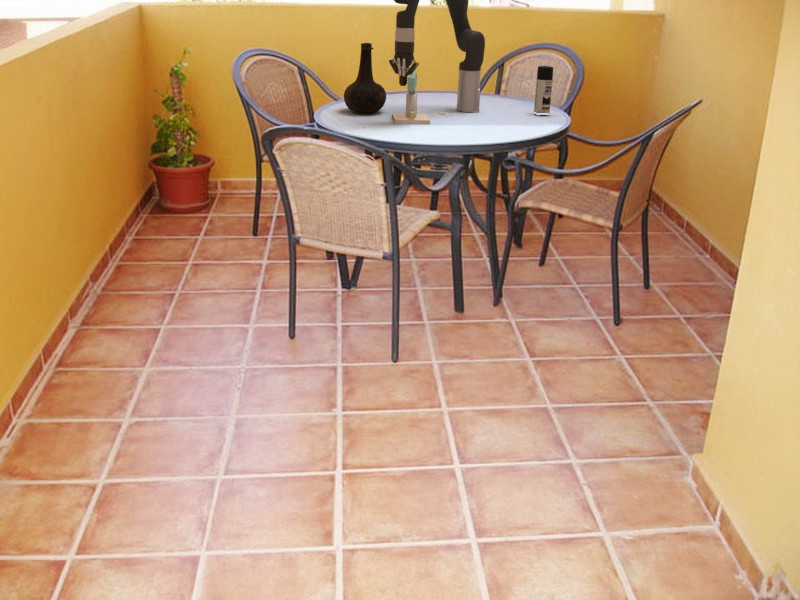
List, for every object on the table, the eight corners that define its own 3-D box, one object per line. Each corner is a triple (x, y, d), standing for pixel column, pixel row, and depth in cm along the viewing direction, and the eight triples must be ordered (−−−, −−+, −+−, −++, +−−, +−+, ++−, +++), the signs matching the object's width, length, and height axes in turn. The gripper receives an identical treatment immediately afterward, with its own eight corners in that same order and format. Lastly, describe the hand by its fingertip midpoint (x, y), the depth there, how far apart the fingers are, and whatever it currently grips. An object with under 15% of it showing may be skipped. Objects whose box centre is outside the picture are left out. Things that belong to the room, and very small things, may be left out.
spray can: (542, 116, 358) (546, 68, 350) (530, 114, 362) (534, 66, 354) (552, 115, 362) (557, 67, 354) (540, 112, 366) (545, 65, 358)
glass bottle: (346, 116, 345) (347, 45, 334) (341, 108, 361) (341, 40, 350) (389, 116, 349) (391, 46, 338) (382, 108, 365) (383, 40, 354)
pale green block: (410, 90, 345) (410, 72, 342) (416, 90, 345) (417, 72, 342) (407, 96, 331) (407, 78, 328) (413, 96, 331) (414, 78, 328)
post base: (425, 117, 349) (426, 91, 345) (430, 124, 337) (431, 97, 332) (392, 116, 348) (392, 90, 344) (395, 123, 335) (396, 96, 331)
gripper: (384, 39, 325) (383, 84, 332) (414, 42, 318) (412, 88, 325) (395, 37, 331) (394, 82, 338) (424, 40, 324) (422, 86, 331)
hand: (403, 85), depth 331 cm, fingers closed
